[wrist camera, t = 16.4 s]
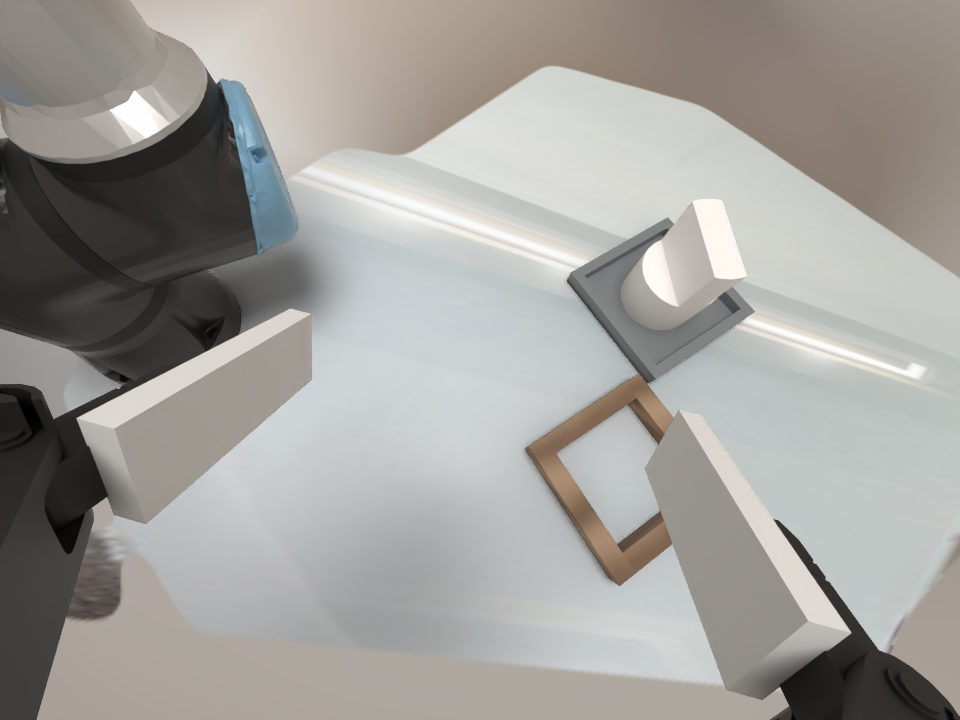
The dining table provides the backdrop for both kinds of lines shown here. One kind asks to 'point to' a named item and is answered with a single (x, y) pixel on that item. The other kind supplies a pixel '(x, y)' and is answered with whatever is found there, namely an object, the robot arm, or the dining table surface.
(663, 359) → the charcoal tray
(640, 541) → the walnut collar
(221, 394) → the robot arm
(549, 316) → the dining table surface
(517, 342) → the dining table surface
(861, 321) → the dining table surface
